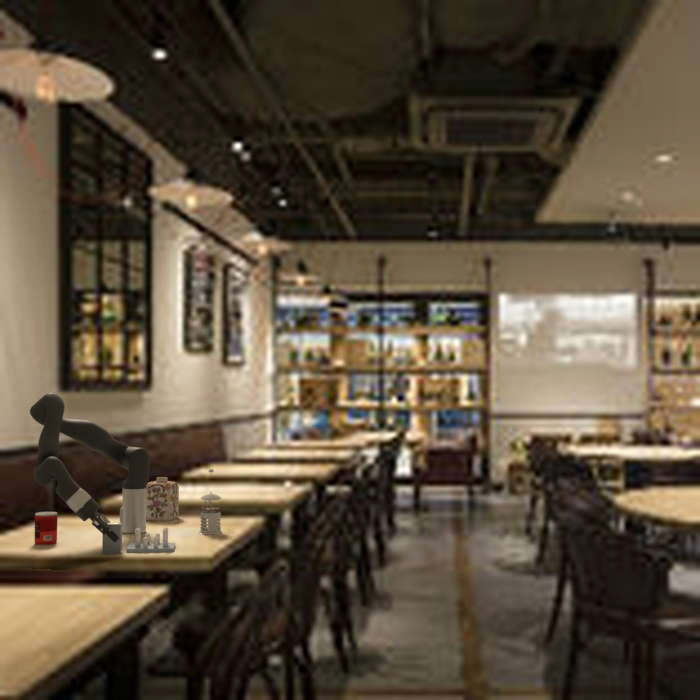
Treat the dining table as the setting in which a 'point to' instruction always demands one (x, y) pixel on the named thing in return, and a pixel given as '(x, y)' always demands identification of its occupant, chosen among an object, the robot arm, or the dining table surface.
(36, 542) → the canned food
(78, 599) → the dining table surface
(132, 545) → the grey peg board
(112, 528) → the block
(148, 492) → the decorative jar
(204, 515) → the french press
